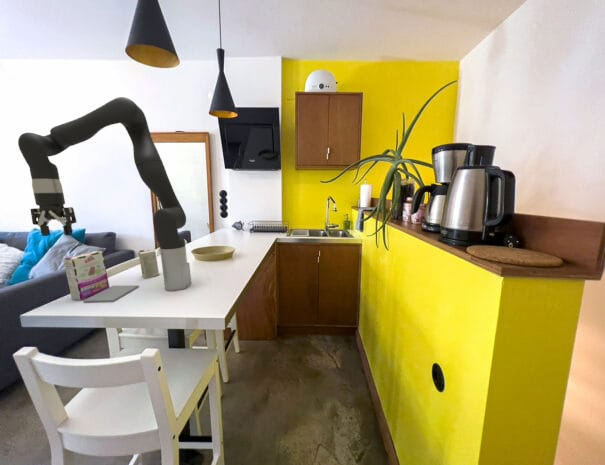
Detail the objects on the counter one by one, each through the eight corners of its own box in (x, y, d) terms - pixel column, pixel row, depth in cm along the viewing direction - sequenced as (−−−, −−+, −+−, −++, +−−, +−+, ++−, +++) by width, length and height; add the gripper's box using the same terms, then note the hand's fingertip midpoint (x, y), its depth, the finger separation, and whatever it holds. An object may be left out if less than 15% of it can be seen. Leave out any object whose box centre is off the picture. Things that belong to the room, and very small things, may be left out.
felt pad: (139, 287, 101) (138, 285, 101) (113, 302, 87) (113, 300, 87) (113, 287, 101) (112, 285, 101) (83, 302, 87) (83, 300, 87)
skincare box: (156, 273, 118) (153, 249, 116) (159, 275, 115) (156, 250, 113) (141, 276, 113) (138, 252, 111) (143, 279, 110) (140, 253, 108)
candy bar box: (100, 288, 100) (93, 250, 98) (110, 289, 99) (103, 251, 97) (70, 300, 89) (62, 258, 87) (80, 301, 89) (72, 258, 86)
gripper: (77, 191, 91) (85, 233, 94) (40, 192, 91) (49, 234, 94) (57, 191, 83) (66, 236, 86) (17, 192, 84) (27, 237, 86)
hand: (57, 235), depth 90 cm, fingers open, 8 cm apart
